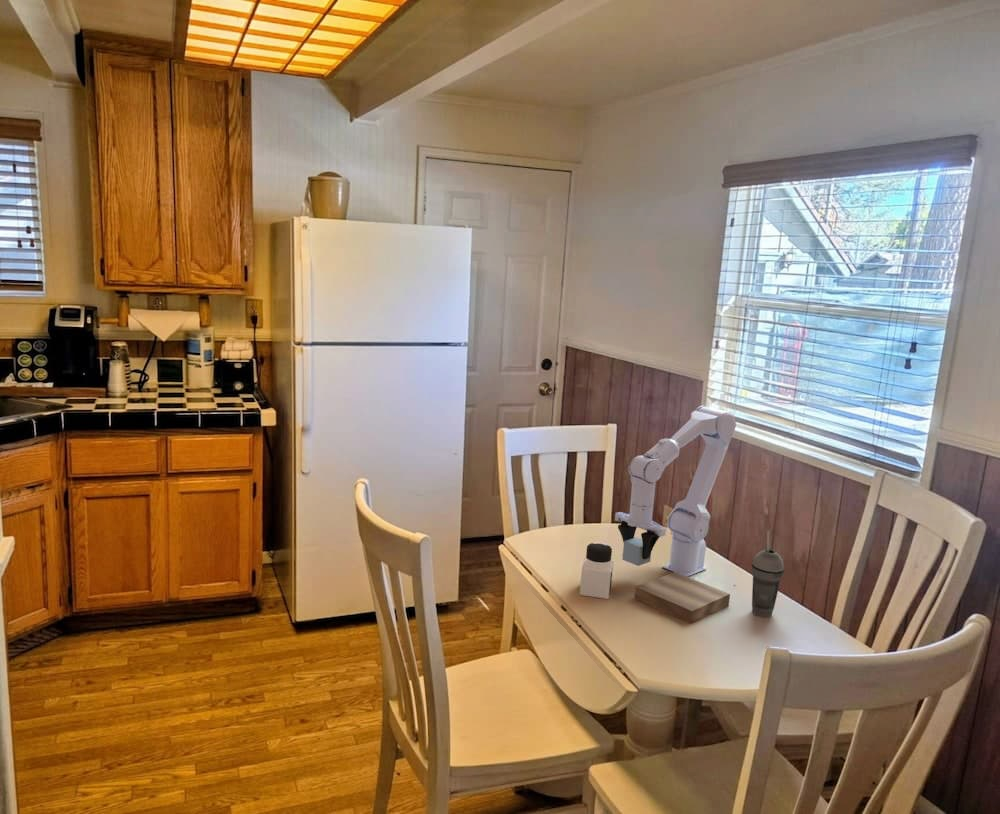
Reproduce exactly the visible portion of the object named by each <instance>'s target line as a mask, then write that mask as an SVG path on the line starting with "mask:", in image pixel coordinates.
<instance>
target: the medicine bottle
mask: <svg viewBox="0 0 1000 814" xmlns="http://www.w3.org/2000/svg"><path fill="white" fill-rule="evenodd" d="M612 553H613V548H612V546H610V545H609V544H607V543H604V542H599V541H597V542H591V543H589V544H587V546H586V553H585V554H586V555H585V558H584V559H583V563H582V567H581V576H580V586H579V587H580V588H579V595H580V596H585V597H592V598H596V599H597V598H598V599H605V600H609V599H610V595H611V591H612V590H611V589H612V581H613V571H614V570H613V569H614V561H612Z"/></svg>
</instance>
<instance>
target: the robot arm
mask: <svg viewBox="0 0 1000 814" xmlns="http://www.w3.org/2000/svg"><path fill="white" fill-rule="evenodd" d="M736 428H737V421H736V420H735V416H734V414H733V413H732V412H730V411H727V410H726V411H724V410H720V409H716V408H712V407H708V406H706V405H700V406H698V407H697V408H695V410H693V411H692V412H691V413H690V419H689V420H687V422H686V423H685V424H684V425H683V426H682V427H681V428H679V430H678V431H676V432H675V434H673V435H672V436H671V438H661V439H659V441H658V442H657V443H656V444H655V445H654V446H653V447H651V448H650V449H649V450H647V451H646V452H645V453H644V454H643V455H637V456H635V457H634V458H632V459H631V461H630V464H629V465H628V468H627V469H628V473H629V475H630V482H631V494H630V503H629V504H630V505H629V513H625V512H621V511H619V512H615V514H614V515H615V516H614V521H616V522H621V523H620V524H618V525H617V528H618V532H619V533H620V535H621V538H622V542H623V544H624V541H626V540H629V539H632V538H635V535H636V532H637V528H638V529H641V530H644V532H642V533H640V536H641V539H642V542H643V550H642V559H644V560H645V559H648V558H649V557H650V554H651V555H652V551H653V549H654V547H655V544H656V543H657V542H658V540H659V538H661V537H664V536H666V534H667V528H668V529H669V530H670V535H671V536H672V538H671V544H670V545H671V546H670V554H669V562H668V563H666V564H663V565H662V568H663V569H666V570H668V571H670V572H672V573H673V572H676V573H678V574H681V575H683V576H686V577H690V576H693V575H695V574H697V573H700V572H703V571H706V570H707V567H706V566H705V559H706V551H707V550H706V549H707V544H706V541H705V537H707V535H708V531H709V523H710V520H711V515H710V513H709V512H708V509H707V508H706V505H707V502H708V499H709V497H710V495H711V492H712V490H713V488H714V484H715V481H716V480H717V477H718V474H719V471H720V469H721V467H722V464H723V461H724V459H725V456H726V453H727V451H728V448H729V445H730V443H731V440H732V438H733V435H734V432H735V429H736ZM699 436H701V437H702V438H703V439H704V442H705V448H704V450H703V453H702V455H701V457H700V460H699V463H698V466H697V468H696V471H695V474H694V476H693V479H692V481H691V484H690V486H689V488H688V489H689V490H688V492H687V494H686V497H685V498H684V499H682V500H681V501H680V500H679V501H678V502H677V503H675V506H674V508H673V510H672V511H671V512H670V513H669V515H668V517H667V522H666V525H667V527H665V526H662V525H661V524H660V523H657V522H656V521H654V520H653V514H654V513H653V512H654V503H655V493H656V483H657V481H659V480H660V479H661V478H662V475H663V472H664V471H665V469H666V467H667V466H668V465H670V464H671V463H672V462H673V461H675V460H676V459H677V458H678V457H679V456H680V449H681V448H683V447H684V446H686V445H687V444H688V443H690V442H691V441H693V440H694V439H695V438H697V437H699ZM689 512H690V513H689Z"/></svg>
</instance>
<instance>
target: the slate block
mask: <svg viewBox="0 0 1000 814" xmlns="http://www.w3.org/2000/svg"><path fill="white" fill-rule="evenodd" d="M642 550H643V542H642V538H639V537H637V536H636V537H635V536H634V538H632V539H629V540H626V541H624V543H623V549H622V560H623V561H625V562H626V563H630V564H632V565H635V566H638V567H640V566H642V565H644V564H648V563H650V562H651V559H652V553H651V554H650V557H649V558H648V559H645V560H644V559H642Z"/></svg>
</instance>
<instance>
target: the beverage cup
mask: <svg viewBox="0 0 1000 814" xmlns="http://www.w3.org/2000/svg"><path fill="white" fill-rule="evenodd" d="M770 532H771V531H770V530H767V534H766V549H763V550H760V551H759V552H758V553H757V554H756V555H755V556H754V558H753V560H752V562H751V566H752V567H751V570H752V589H751V590H752V593H751V597H752V598H751V612H752V614H753V615H755V616H757V617H760V618H763V619H764V618H772V617H773V612H774V609H775V606H776V605H775V604H776V602H777V598H778V597H777V596H778V592H779V589H780V584H781V579H782V577H783V576H784V572H785V565H784V561H783V558H782V556H781V555H780V554H779V553H778V552H776V551H774V550H772V549H770V537H771V536H770Z"/></svg>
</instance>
